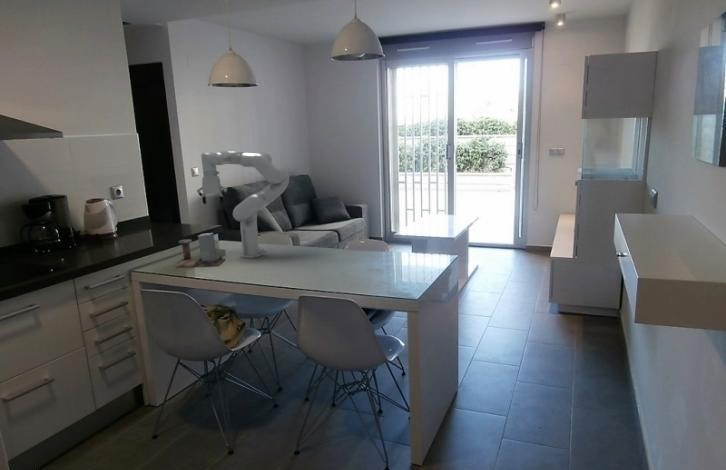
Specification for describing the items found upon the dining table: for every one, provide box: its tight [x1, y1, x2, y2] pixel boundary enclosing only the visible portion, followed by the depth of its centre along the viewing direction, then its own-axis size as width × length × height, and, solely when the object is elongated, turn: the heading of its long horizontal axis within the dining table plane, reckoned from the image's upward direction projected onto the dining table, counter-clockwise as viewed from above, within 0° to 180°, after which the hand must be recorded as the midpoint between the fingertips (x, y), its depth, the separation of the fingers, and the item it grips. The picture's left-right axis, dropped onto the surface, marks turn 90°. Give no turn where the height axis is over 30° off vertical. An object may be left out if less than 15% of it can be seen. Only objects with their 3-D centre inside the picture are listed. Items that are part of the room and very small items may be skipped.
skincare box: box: [197, 232, 218, 261], centre depth 277 cm, size 8×7×16 cm
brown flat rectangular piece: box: [175, 255, 226, 269], centre depth 278 cm, size 24×12×3 cm, turn 88°
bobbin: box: [178, 238, 195, 262], centre depth 287 cm, size 7×7×12 cm
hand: (213, 203), depth 289 cm, fingers open, 9 cm apart
